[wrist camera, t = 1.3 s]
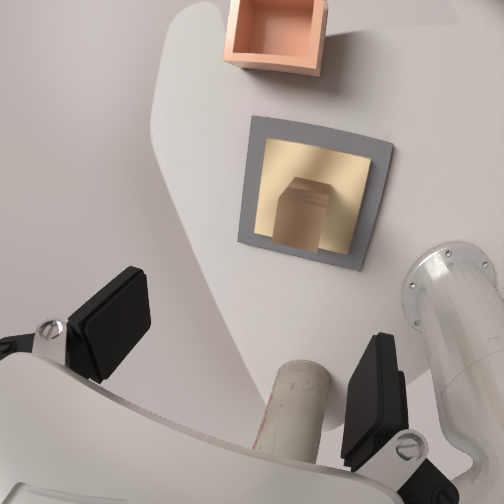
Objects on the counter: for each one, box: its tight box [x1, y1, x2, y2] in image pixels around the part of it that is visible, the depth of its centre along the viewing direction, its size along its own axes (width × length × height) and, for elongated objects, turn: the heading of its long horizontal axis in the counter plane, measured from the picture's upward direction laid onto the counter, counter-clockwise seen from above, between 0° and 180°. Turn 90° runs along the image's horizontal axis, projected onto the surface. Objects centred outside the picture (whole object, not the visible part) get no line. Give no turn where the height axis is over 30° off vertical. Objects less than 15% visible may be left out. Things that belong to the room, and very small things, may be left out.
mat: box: [237, 116, 393, 271], centre depth 30 cm, size 14×14×1 cm
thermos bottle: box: [252, 360, 330, 464], centre depth 29 cm, size 8×8×28 cm
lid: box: [254, 138, 371, 255], centre depth 25 cm, size 10×10×9 cm
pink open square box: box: [223, 0, 328, 77], centre depth 21 cm, size 8×8×5 cm
